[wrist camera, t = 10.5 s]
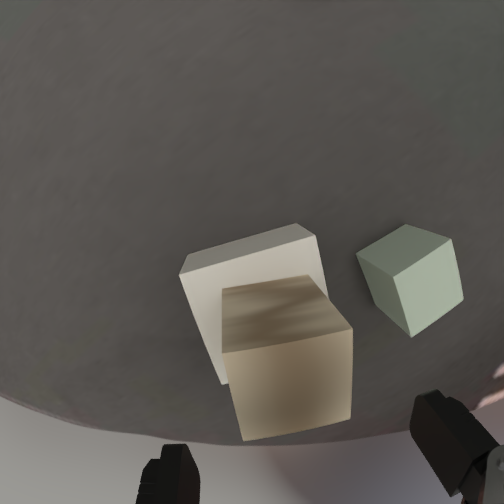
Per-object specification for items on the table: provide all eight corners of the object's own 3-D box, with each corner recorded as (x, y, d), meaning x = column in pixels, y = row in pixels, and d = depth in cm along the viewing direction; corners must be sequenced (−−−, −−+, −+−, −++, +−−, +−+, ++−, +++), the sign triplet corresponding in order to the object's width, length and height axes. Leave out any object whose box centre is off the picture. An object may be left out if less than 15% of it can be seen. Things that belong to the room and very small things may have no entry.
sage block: (405, 223, 23) (451, 238, 17) (421, 275, 24) (463, 299, 18) (355, 253, 23) (392, 277, 17) (375, 304, 24) (411, 337, 19)
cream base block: (295, 222, 22) (315, 235, 18) (317, 319, 24) (338, 350, 20) (188, 253, 22) (178, 274, 17) (221, 347, 24) (221, 384, 19)
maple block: (307, 274, 18) (352, 328, 11) (313, 347, 19) (350, 418, 13) (221, 288, 18) (221, 353, 11) (236, 361, 19) (243, 441, 12)
